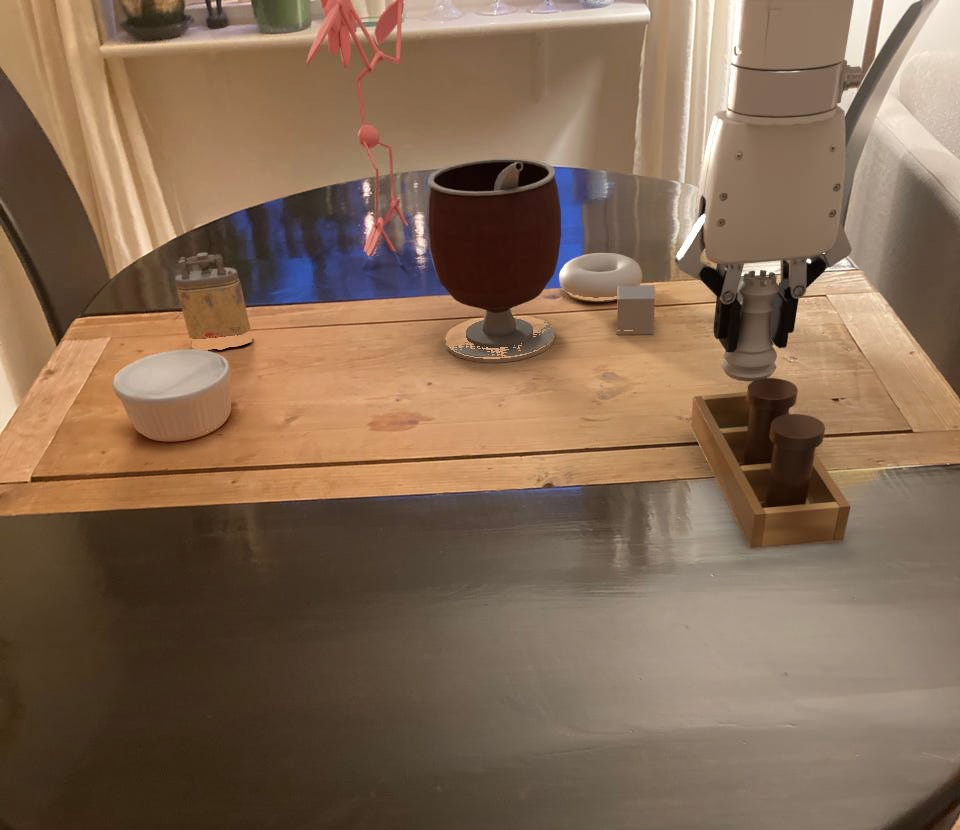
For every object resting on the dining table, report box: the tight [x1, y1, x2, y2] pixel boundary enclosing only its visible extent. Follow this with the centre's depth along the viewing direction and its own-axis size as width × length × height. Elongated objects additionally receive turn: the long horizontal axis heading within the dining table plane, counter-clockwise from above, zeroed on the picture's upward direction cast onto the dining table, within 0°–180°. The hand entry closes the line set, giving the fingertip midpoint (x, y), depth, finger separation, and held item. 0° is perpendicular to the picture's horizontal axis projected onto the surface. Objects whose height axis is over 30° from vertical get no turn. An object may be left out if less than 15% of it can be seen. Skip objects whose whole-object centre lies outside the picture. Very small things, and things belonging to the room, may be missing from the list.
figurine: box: [305, 0, 409, 257], centre depth 121 cm, size 15×26×35 cm, turn 170°
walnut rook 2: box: [761, 413, 826, 508], centre depth 72 cm, size 4×4×8 cm
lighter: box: [174, 252, 251, 339], centre depth 107 cm, size 7×4×10 cm, turn 99°
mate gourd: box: [425, 157, 562, 364], centre depth 99 cm, size 16×14×20 cm
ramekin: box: [112, 348, 232, 443], centre depth 94 cm, size 11×11×5 cm
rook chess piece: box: [721, 269, 780, 383], centre depth 78 cm, size 4×4×8 cm
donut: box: [558, 252, 643, 303], centre depth 115 cm, size 10×4×10 cm
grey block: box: [616, 284, 656, 336], centre depth 105 cm, size 4×4×4 cm
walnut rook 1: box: [739, 377, 799, 466], centre depth 77 cm, size 4×4×8 cm
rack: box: [690, 391, 851, 549], centre depth 79 cm, size 7×20×4 cm, turn 3°
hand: (751, 341), depth 78 cm, fingers closed on rook chess piece, 3 cm apart
